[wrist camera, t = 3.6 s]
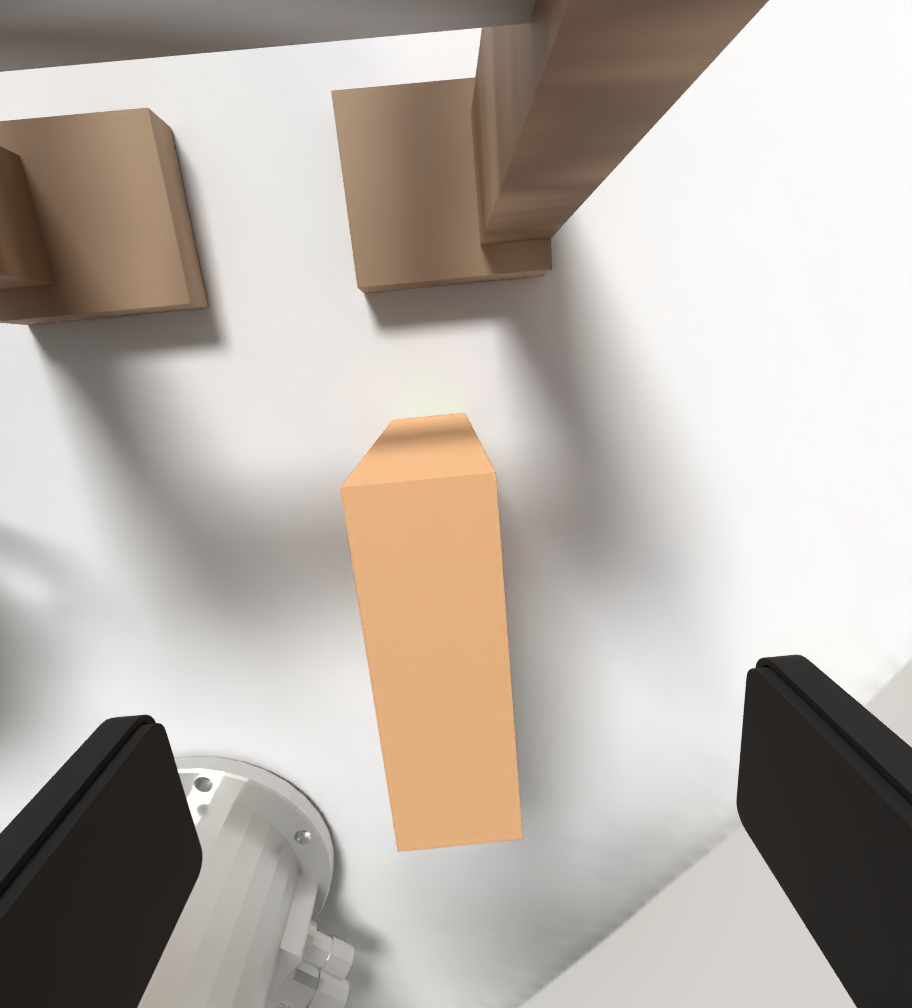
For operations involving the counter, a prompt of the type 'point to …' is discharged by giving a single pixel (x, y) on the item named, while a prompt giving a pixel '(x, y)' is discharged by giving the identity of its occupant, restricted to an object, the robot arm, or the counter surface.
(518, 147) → the rack
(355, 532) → the tan c-shaped bracket
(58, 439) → the counter surface
